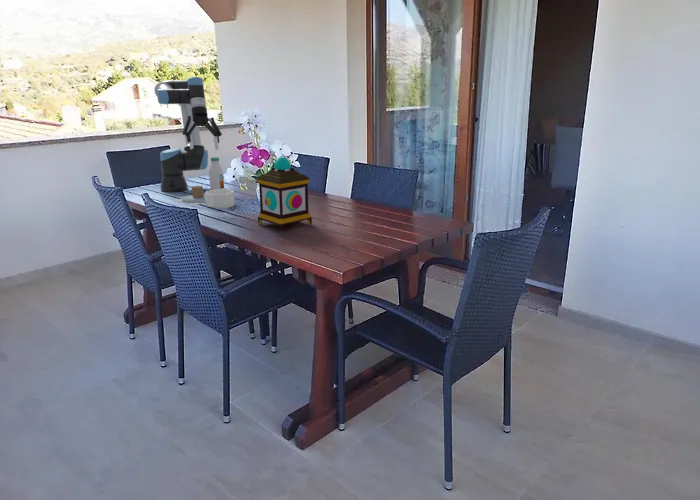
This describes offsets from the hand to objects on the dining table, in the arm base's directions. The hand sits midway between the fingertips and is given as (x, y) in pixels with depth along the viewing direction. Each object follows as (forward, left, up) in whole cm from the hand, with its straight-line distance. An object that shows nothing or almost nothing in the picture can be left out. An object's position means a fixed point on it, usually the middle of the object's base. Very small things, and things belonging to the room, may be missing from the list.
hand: (204, 149), depth 257 cm
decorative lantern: (+61, -11, -28) cm, 68 cm away
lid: (-9, 0, -27) cm, 29 cm away
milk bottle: (-16, +20, -28) cm, 38 cm away
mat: (-9, 0, -28) cm, 29 cm away
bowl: (+9, -1, -28) cm, 29 cm away
